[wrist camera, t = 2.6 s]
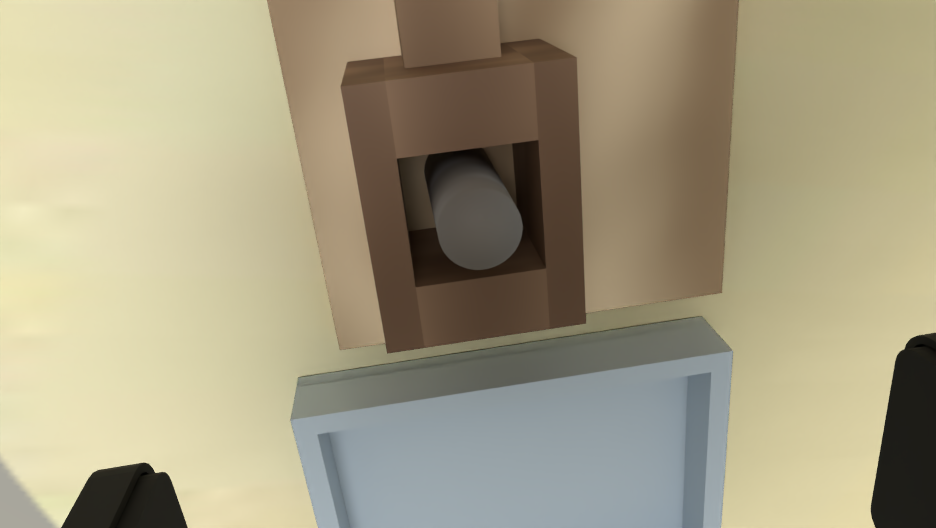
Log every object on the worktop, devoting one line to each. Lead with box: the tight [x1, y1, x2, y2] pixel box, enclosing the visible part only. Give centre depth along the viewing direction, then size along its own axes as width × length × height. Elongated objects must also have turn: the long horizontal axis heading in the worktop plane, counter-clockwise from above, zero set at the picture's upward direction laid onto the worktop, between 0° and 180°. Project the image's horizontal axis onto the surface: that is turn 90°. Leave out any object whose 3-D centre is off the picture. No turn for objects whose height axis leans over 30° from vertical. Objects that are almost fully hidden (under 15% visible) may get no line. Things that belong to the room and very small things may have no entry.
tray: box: [291, 316, 733, 528], centre depth 25 cm, size 14×10×2 cm
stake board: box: [267, 0, 739, 350], centre depth 19 cm, size 13×13×6 cm
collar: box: [340, 0, 586, 353], centre depth 18 cm, size 5×10×4 cm, turn 6°
